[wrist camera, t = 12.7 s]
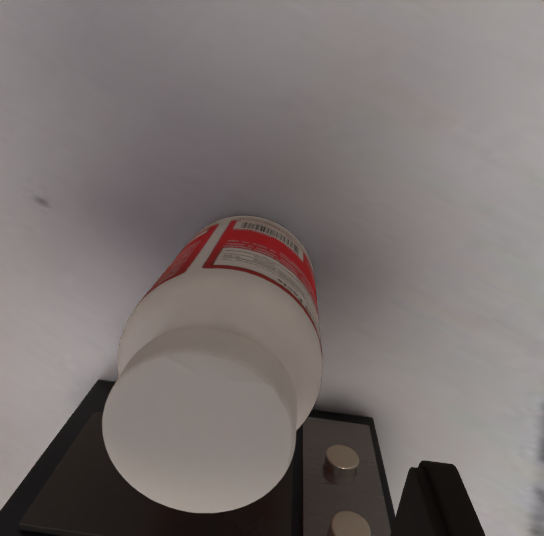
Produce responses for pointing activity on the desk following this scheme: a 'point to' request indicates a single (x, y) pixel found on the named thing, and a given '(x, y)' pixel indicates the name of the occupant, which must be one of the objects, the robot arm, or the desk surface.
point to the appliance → (205, 526)
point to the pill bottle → (217, 370)
